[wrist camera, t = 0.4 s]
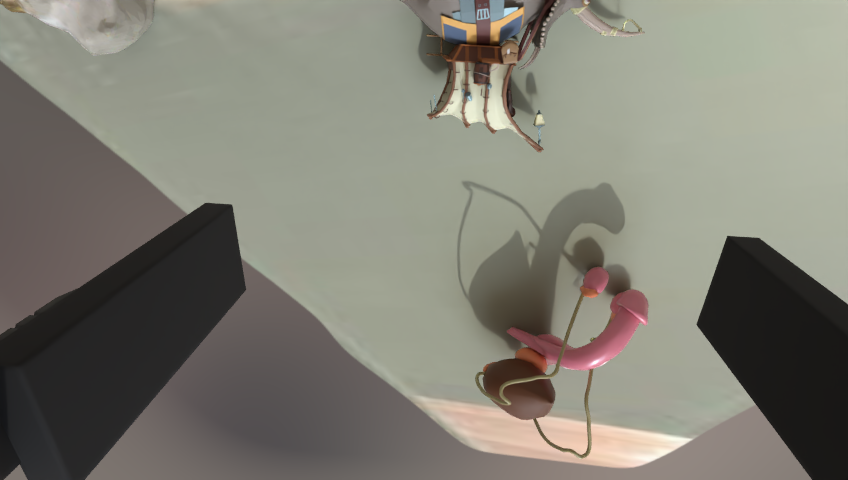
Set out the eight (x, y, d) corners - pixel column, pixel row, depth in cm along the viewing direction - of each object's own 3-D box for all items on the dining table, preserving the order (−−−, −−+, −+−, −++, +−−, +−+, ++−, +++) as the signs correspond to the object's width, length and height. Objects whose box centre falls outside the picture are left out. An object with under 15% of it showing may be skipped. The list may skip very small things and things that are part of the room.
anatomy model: (696, 310, 39) (643, 481, 33) (580, 319, 51) (524, 445, 45) (618, 235, 37) (544, 403, 30) (516, 263, 49) (448, 387, 43)
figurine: (671, -146, 25) (647, 153, 32) (629, -115, 31) (616, 135, 38) (318, -88, 27) (369, 185, 34) (339, -68, 32) (378, 163, 39)
